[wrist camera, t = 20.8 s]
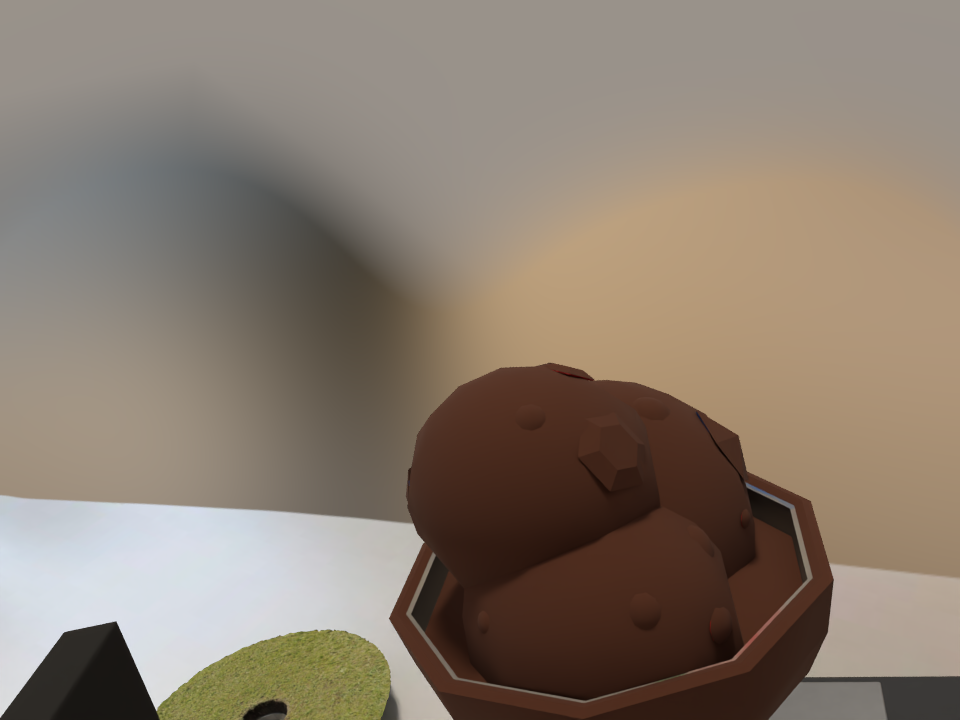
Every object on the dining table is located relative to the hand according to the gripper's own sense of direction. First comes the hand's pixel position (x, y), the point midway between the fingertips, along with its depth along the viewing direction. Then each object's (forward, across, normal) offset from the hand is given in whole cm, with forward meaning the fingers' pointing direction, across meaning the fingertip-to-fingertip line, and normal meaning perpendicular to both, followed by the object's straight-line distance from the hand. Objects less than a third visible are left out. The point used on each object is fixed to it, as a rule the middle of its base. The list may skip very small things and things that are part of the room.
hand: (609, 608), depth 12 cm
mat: (+20, -16, -18) cm, 31 cm away
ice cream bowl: (+10, 0, -15) cm, 18 cm away
